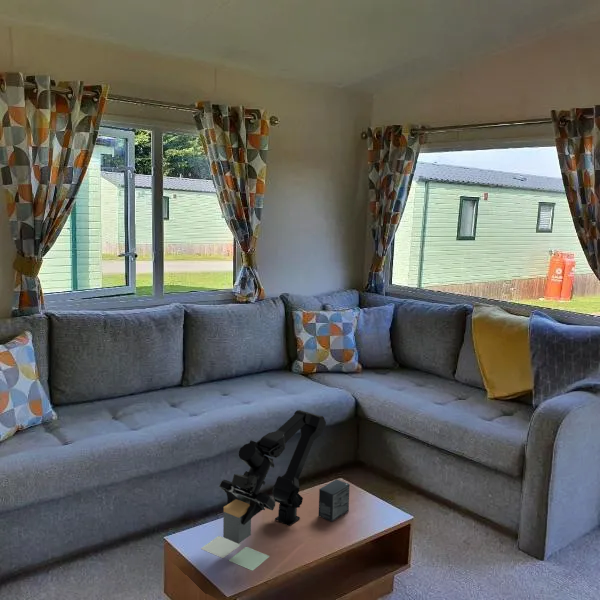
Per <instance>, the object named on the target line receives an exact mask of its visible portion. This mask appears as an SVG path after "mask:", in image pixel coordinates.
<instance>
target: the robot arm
mask: <svg viewBox="0 0 600 600" xmlns="http://www.w3.org/2000/svg"><path fill="white" fill-rule="evenodd" d="M326 421H327V420H326V419H325V417H324V416H323V415H320V414H319V415H318V414H315V413H312V412H308V411H305V410H301V409H297V410H295V412H294V414H293V415H292V416H291V417H290V418H289V419H288V420H287V421H286V422H285V423H283V424H282V425H281V426H280V427H279V428H278V429H277V430H275V431H272V432H271V431H270V432H268V433H266V434H265V435H263V436H262V437H261V438H260V439H259V440H258V441H254V440H252V439H251V440H250V441H249V442H248V443H245V444H244V445H242V446H241V447H240V448H239V450H238V457H239V459H240V460H241V461H242V462H244V464H245V465H246V466H248V467H249V469H248V471H246V470H245V472H243V474H239V473H234V474H233V477H232V481H229V480H227V479H223V480H221V482H220V483H219V485H218V487H219V489H221V490H222V491H223V492H224V493H225V494H226V497H227V503H226V505H228V504H229V503H231V502H232V501H234V500H236V499H237V500H240V498H238V496H242V497H245V498H246V499H249V504H250V506H249V508H248V510H247V512H246V514H245V516H244V518H243V521H242V524H243V525H244V524H246V523H247V522H248V521H249V520H250V519H251V520H252V518H254V517H255V516H257V514H259V513H260V512H262V511H265V510H266V509H267V510H270V511H274V509H275V507H276V503H278V514H277V516H275V518H274V520H275V521H277V522H279V523H282V524H283V525H286V526H288V527H289V526H292V525H293V524H294V523H296V522H297V521H299V520H300V519H301V517H300V516H298V515H297V511H298V508H300V507H301V505H303V504H302V503H303V499H304V498H303V496H302V495H300V493H299V492H300V482H299V480H300V476H301V473H302V471H303V468H304V467H305V464H306V462H307V459H308V456H309V454H310V452H311V449H312V447H313V444H314V441H315V440H317V439H318V438H319V437H320V436H321V435H322V433H323V431H324V430H325V428H326V425H327V422H326ZM299 431H300V436H299V440H298V442H297V444H296V447H295V449H294V451H293V454H292V457H291V459H290V461H289V464H288V466H287V469H286V471H285V473H284V474H283V475H282V476H281V475H279V476H277V477H276V481H275V483H274V485H273V488H272V496H273V497H271V496H270V495H269V494H265V493H264V492H261V491H260V490H261V487H262V486H265V484H266V481H265V479H266V477H267V475H268V472H269V470H270V469H271V468H275V463H274V459H273V458H276V459H277V458H278V457H280V456H281V454H282V453H283V452H284V450H285V449H286V443H288V441H289V440H290V439H292V437H294V436H295V435H296V434H297V433H298V432H299ZM240 501H241V500H240Z"/></svg>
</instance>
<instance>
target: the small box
mask: <svg viewBox="0 0 600 600" xmlns="http://www.w3.org/2000/svg"><path fill="white" fill-rule="evenodd" d="M318 490H319V492H318V493H319V494H318V495H319V497H318V517H320V518H322V519H325V520H326V521H328V522H331V523H333V522H334V521H336V520H337V519H339V518H341V517H342V516H344V515H345V514H347V513H348V512H349V511H350V507H349V505H350V483H348V482H344V481H342V480H340V479H335V480H332V481H331V482H329V483H328V484H326V485H324V486H322V487H321V488H319V489H318Z"/></svg>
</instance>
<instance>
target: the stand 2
mask: <svg viewBox="0 0 600 600" xmlns="http://www.w3.org/2000/svg"><path fill="white" fill-rule="evenodd" d="M268 558H270V555H268V554H266V553H263V552H260V551H258V550H256V549H254V548H251V547H248V546H246V547H244V548H242V549H241V550H240V551H239V552H238V553H236V554H234V556H232V557H231V558H229V560H228V561H229V562H231V563H233V564H236V565H238V566H239V567H242V568H245V569H248V570H250V571H252V572H253V571H254V570H255V569H257V568H258V567H259V566H260V565H261V564H263V563H264V562H265V561H267V559H268Z"/></svg>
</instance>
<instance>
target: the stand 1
mask: <svg viewBox="0 0 600 600" xmlns="http://www.w3.org/2000/svg"><path fill="white" fill-rule="evenodd" d="M240 546H242V544H241V543H239V544H238V543H235V542H233V541H231V540H228V539H226V538H224V537H223V536H221V535H218V536H216V537H215V538H213V539H212V540H211V541H209V542H208V543H207V544H205V545H204V546H202V547H200V550H203V551H204V552H208V553H210V554H211V555H214V556H217V557H219V558H220V559H225V558H226V557H227V556H228V555H230V554H232V552H234V551H235V550H237V549H238V548H239V547H240Z"/></svg>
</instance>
